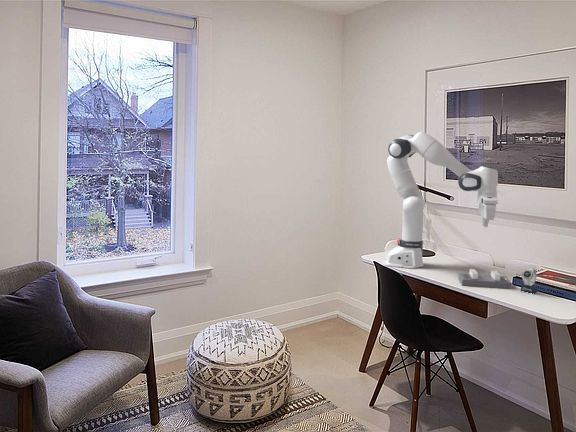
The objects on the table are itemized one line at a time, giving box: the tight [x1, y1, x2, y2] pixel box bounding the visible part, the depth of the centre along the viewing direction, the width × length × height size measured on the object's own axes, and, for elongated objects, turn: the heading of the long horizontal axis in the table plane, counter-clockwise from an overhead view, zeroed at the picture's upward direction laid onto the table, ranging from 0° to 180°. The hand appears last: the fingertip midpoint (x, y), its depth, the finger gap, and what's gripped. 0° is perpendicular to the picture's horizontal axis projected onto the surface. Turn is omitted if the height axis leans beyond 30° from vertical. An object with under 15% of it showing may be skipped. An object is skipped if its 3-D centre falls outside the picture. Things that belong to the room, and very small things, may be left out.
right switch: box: [490, 270, 501, 281], centre depth 236 cm, size 2×9×3 cm, turn 169°
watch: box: [520, 267, 539, 295], centre depth 225 cm, size 6×8×11 cm
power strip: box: [457, 273, 513, 290], centre depth 238 cm, size 22×12×3 cm, turn 79°
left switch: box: [468, 268, 479, 279], centre depth 238 cm, size 2×9×3 cm, turn 169°
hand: (485, 226), depth 244 cm, fingers closed
